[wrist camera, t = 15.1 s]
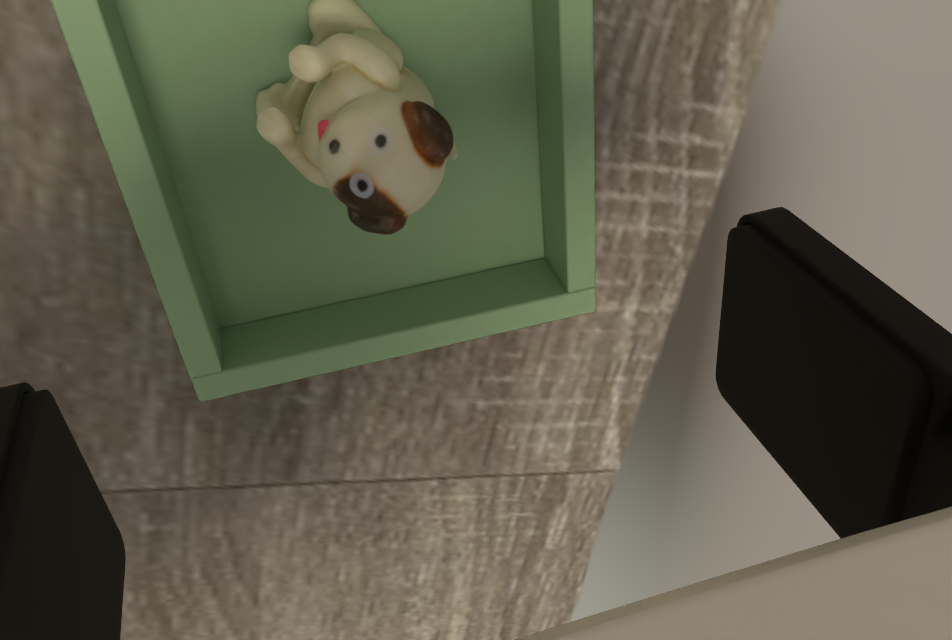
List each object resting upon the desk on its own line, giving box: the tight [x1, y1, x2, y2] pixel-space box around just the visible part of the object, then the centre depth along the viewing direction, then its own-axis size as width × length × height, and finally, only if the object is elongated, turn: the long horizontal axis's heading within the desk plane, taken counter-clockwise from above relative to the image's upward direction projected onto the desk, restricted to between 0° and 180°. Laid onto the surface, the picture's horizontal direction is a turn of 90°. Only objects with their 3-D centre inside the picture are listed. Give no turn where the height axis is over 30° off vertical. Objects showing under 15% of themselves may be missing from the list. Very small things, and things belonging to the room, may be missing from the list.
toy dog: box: [255, 0, 458, 235], centre depth 18 cm, size 4×5×5 cm
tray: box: [51, 0, 596, 402], centre depth 20 cm, size 13×11×3 cm
